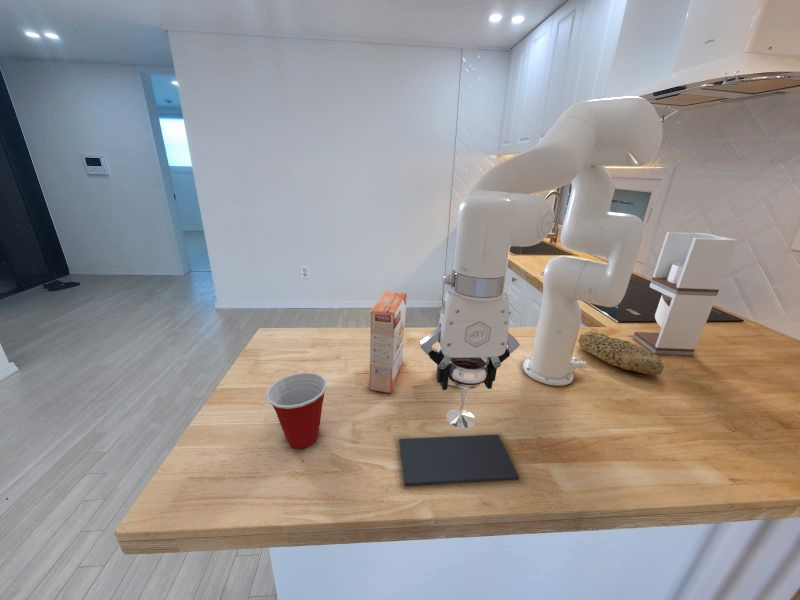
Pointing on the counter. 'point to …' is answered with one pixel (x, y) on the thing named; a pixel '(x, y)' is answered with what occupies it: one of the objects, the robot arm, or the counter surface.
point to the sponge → (621, 353)
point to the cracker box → (387, 340)
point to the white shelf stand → (686, 289)
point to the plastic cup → (298, 406)
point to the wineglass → (466, 385)
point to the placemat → (455, 460)
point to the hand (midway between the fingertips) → (464, 383)
